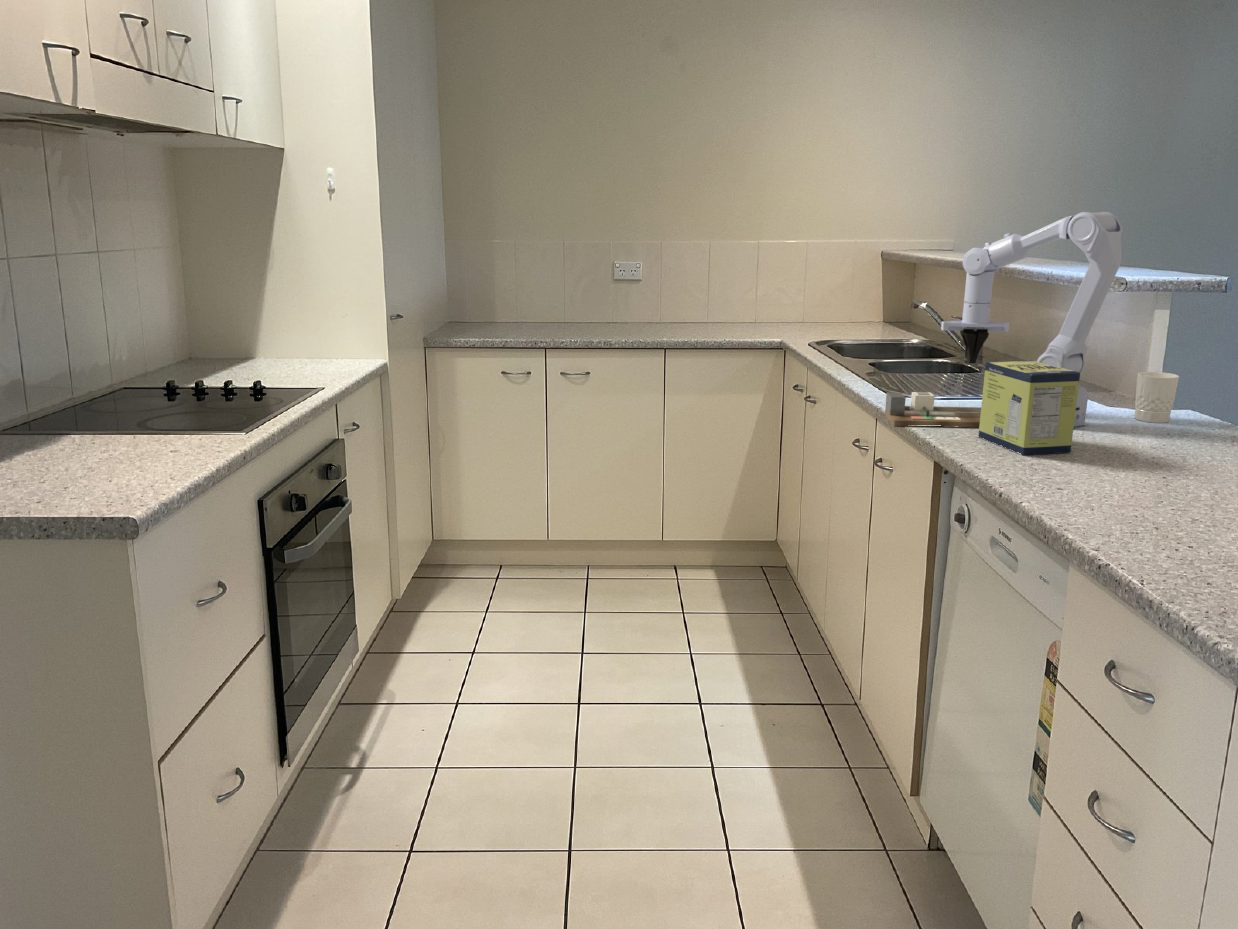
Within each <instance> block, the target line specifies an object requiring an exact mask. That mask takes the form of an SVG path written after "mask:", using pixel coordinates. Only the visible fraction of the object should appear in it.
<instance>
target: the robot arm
mask: <svg viewBox="0 0 1238 929" xmlns="http://www.w3.org/2000/svg"><path fill="white" fill-rule="evenodd" d="M1123 230H1124V229H1123V227H1122V224H1120V221H1119V220H1118V218H1117V217H1116V215H1115V214H1114V213H1111V212H1108V211H1100V212H1088V211H1081V212H1078V213H1077V214H1075V215H1070V216H1066V217H1064V218H1060V219H1059V220H1057V221H1054V222H1052V223H1049V224H1047V225H1045V226H1043V227H1042V228H1041V227H1040V228H1039V229H1037V230H1035V231H1032V232H1030V233H1028V234H1026V235H1021V234H1019V233H1013V232H1011V233H1010V232H1008V233H1005V234H1004V235H1003V237H1004V238H1001V239H999V240H997V241H994V242H991V241H989V242H985V243H984V246H983V247H972V248H971V249H969V250H968V251H967V252H965V254H964V256H963V258H962V267H963V269H964V271H965V272H966V277H965V279H966V280H965V287H964V298H963V309H962V317H961V318H962V319H961V320H949V321H947V320H946V321H941V325H940V326H941V327H940V330H941V331H943V332H948V331H959V333H960V336H961V338H962V341H963V344H964V348H965V353H966V360H967V361H966V363H969V364H976V363H977V359H978V356H979V354H980V351H981V349H982V347H983V346H984V343H985V342H986V341H987V339H988V338H989V336H990V332H1004V333H1005V332H1009V331H1010V325H1011V324H1010V322H1008V321H990V315H991V307H992V305H991V304H992V295H993V294H992V293H993V286H994V285H993V284H994V280H995V273H996V272H997V271H998V270H999V269H1002V268H1003V267H1006V266H1008V265H1011V264H1014V263H1016V262H1019V261H1021V260H1024V259H1026V258H1027V257H1028V256H1027V255H1028V254H1029V252H1030V251H1031V250H1034V249H1037V248H1040V247H1043V246H1045V245H1048V244H1051V243H1054V242H1056V241H1059V240H1070V241H1072V243H1074V244H1075V245H1076V247H1078V248H1079V249H1080V250H1081V251H1082V252H1083V253H1084V254H1085V257H1086V259H1087V261H1088V262H1089V266H1088V267H1087V270H1086V272H1085V274H1084V276H1083V279H1082V281H1081V283H1080V285H1079V287H1078V290H1077V292H1076V294H1075V296H1074V299H1073V301H1072V303H1071V305H1070V308H1069V310H1068V313H1067V315H1066V317H1065V319H1064V322H1063V324H1062V326H1061V328H1060V331H1059V332H1058V335H1056V337H1055V338H1054V339H1053V340H1052V341H1051V342H1050V343H1049V344H1048V345H1047V348H1046V350H1045V351H1044V352H1043V353H1042V354H1040V355H1039V357H1038V358H1037V360H1036V362H1039V363H1043V364H1047V365H1052V366H1056V367H1060V368H1064V369H1068V370H1073V371H1077V372H1080V374H1081V373H1082V372H1083V371H1084V369H1085V365H1086V362H1085V360H1086V359H1085V356H1086V353H1087V351H1088V346H1087V345H1086V344H1087V343H1086V340H1087V338H1088V336H1089V334H1090V331H1091V330H1092V327H1093V326H1094V323H1095V321H1096V318H1097V316H1098V315H1099V313H1100V311H1101V308H1102V306H1103V303H1104V301H1105V298H1106V296H1107V295H1108V293H1109V290H1110V289H1111V286H1112V284H1113V281H1114V279H1115V278H1116V275H1117V272H1118V270H1119V268H1120V266H1121V263H1122V260H1123V256H1122V254H1123V253H1122V240H1121V236H1122V234H1123ZM1088 399H1089V394H1088V391H1087V389H1086V388H1085V387H1083V386H1082V385H1079V388H1078V396H1077V404H1076V412H1075V420H1074V428H1075V427H1082V426H1087V425H1088V422H1086V417H1087V416H1086V415H1087V407H1088V401H1089V400H1088Z"/></svg>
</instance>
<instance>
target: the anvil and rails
mask: <svg viewBox="0 0 1238 929" xmlns="http://www.w3.org/2000/svg"><path fill="white" fill-rule="evenodd" d="M885 396H886V397H885V409H884V411H885V410H886V411H887V413H888V414H889V415H898V416H926V411H911V410H910V407H911V405H906V396H905V395H904V394H903V393H902V392H895V391H894V392H891V391H890V392H886V395H885ZM980 415H981V407H980V406H978V407H977V406H974V407H973V406H939V405H938V406H935V405H934V408H933V411H929V416H937V417H980Z"/></svg>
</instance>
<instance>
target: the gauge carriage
mask: <svg viewBox="0 0 1238 929" xmlns="http://www.w3.org/2000/svg"><path fill="white" fill-rule="evenodd" d="M935 397H936V396H935V395H934V394H933V393H932V392H930V391H929V392H928V391H927V392H926V391H925V392H924V391H921V392H920V391H911V397H910V406H911V407H910V410H911V411H926V417H929V411H933V408H934V406H935V405H934V404H935Z"/></svg>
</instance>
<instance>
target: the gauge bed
mask: <svg viewBox="0 0 1238 929" xmlns="http://www.w3.org/2000/svg"><path fill="white" fill-rule="evenodd" d="M884 416H885V417H886V418H887V420H888V421H889V422H890V423H891V424H892V425H893V427H909V426H908V425H941V426H958V427H957V428H962V427H970V429H971V428H973V429H976V428H977V429H979V425H980V417H958V418H960V419H961V421H952V420H913V419H912V418H911V417H910V416H898V415H889V414H888V413H887V411H886V410H885V409H884ZM932 417H937V416H932Z"/></svg>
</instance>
